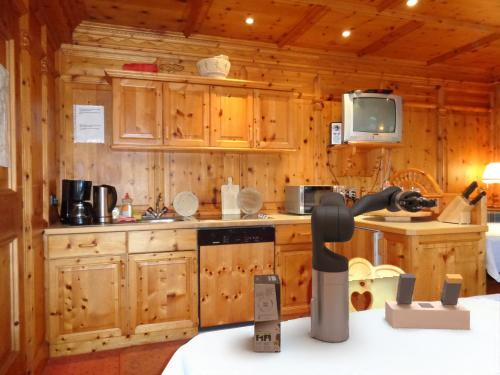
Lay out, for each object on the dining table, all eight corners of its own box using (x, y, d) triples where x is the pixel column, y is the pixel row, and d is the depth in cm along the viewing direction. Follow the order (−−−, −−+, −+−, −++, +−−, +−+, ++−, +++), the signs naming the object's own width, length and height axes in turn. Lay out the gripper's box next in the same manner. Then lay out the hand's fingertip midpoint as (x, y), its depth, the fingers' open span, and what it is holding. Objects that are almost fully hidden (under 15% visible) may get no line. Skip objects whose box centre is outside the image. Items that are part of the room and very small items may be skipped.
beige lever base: (392, 327, 100) (392, 308, 100) (385, 318, 107) (385, 300, 107) (469, 329, 98) (470, 310, 98) (457, 319, 105) (457, 301, 105)
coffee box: (281, 352, 86) (281, 283, 86) (253, 352, 86) (253, 283, 86) (279, 335, 95) (278, 273, 95) (254, 335, 96) (253, 273, 95)
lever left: (397, 305, 102) (401, 277, 99) (395, 300, 104) (399, 273, 101) (411, 305, 102) (415, 278, 99) (408, 300, 104) (413, 273, 100)
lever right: (442, 306, 101) (448, 278, 98) (440, 301, 103) (445, 273, 100) (456, 306, 101) (463, 278, 98) (453, 301, 103) (459, 274, 99)
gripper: (390, 191, 134) (408, 192, 117) (427, 190, 133) (451, 192, 116) (390, 211, 134) (408, 216, 117) (427, 211, 134) (451, 216, 116)
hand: (429, 204), depth 117 cm, fingers closed
